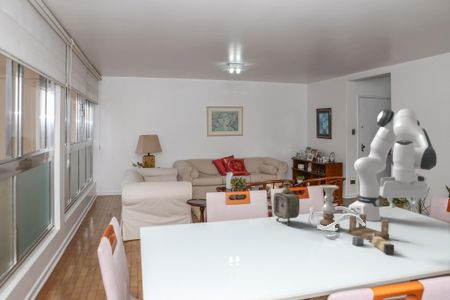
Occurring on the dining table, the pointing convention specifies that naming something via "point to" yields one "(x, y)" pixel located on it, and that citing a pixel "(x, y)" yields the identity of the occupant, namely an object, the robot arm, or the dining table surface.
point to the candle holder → (328, 206)
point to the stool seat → (367, 231)
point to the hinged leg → (382, 244)
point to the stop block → (358, 240)
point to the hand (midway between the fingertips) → (402, 207)
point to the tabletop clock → (286, 204)
